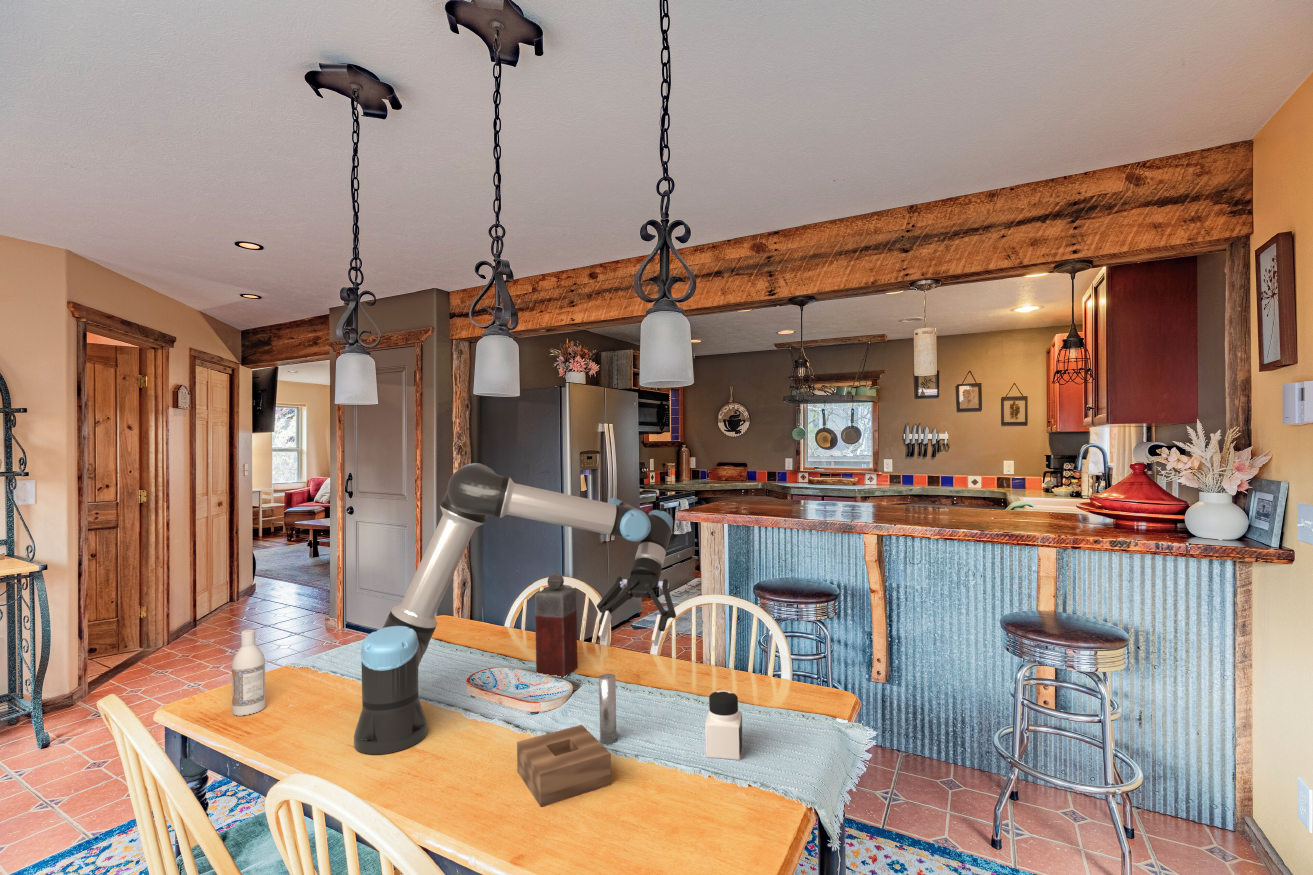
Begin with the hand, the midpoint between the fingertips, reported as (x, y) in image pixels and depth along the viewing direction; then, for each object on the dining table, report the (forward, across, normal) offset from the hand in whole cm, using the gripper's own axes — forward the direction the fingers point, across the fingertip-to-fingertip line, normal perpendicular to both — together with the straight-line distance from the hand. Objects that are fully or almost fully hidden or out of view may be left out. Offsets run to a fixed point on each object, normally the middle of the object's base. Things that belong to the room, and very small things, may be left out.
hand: (627, 640), depth 146 cm
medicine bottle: (+19, -25, -8) cm, 32 cm away
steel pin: (+21, 0, -5) cm, 22 cm away
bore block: (+32, +3, +6) cm, 33 cm away
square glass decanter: (-3, +32, -30) cm, 44 cm away
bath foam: (+30, +93, +5) cm, 98 cm away
